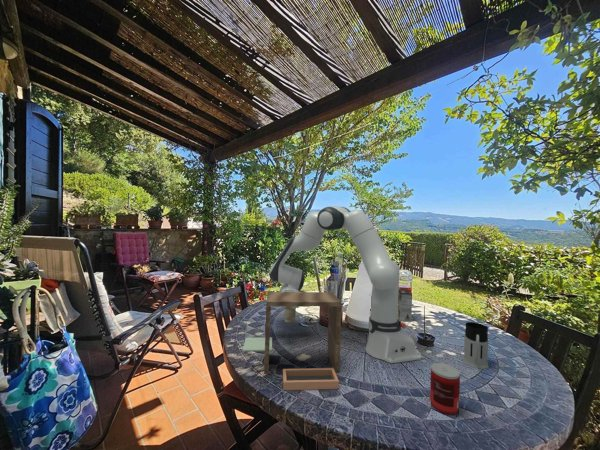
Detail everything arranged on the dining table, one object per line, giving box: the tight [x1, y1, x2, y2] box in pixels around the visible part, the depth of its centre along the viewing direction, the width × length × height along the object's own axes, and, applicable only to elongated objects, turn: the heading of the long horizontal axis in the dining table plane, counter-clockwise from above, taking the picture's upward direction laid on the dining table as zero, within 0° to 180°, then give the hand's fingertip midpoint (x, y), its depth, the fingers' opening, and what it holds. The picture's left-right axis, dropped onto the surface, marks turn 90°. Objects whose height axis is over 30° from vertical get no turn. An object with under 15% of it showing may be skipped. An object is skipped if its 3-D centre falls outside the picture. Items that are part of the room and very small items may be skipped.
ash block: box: [284, 306, 297, 323], centre depth 118 cm, size 4×4×12 cm
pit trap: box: [282, 367, 340, 391], centre depth 90 cm, size 18×8×2 cm, turn 95°
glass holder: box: [462, 321, 490, 370], centre depth 105 cm, size 9×14×15 cm, turn 149°
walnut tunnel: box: [263, 291, 342, 375], centre depth 102 cm, size 27×14×26 cm, turn 95°
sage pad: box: [242, 337, 273, 352], centre depth 116 cm, size 12×12×1 cm
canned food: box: [429, 362, 461, 415], centre depth 80 cm, size 8×8×11 cm
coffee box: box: [397, 289, 413, 323], centre depth 156 cm, size 9×6×16 cm
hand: (290, 306), depth 117 cm, fingers closed on ash block, 4 cm apart
